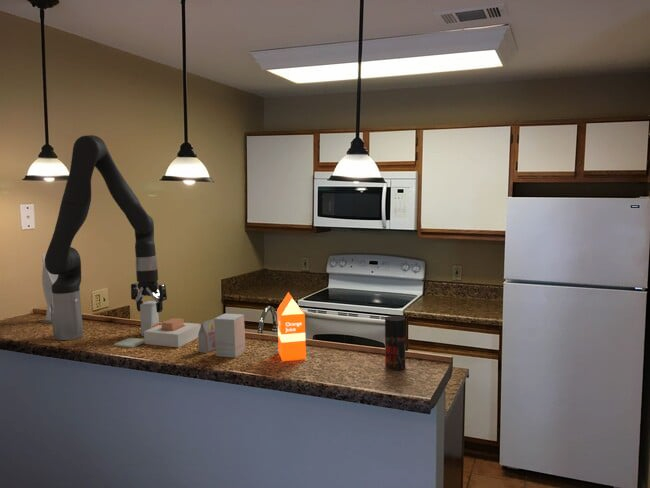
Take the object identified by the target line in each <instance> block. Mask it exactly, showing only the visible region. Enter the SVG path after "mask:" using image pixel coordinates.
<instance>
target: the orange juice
mask: <svg viewBox="0 0 650 488" xmlns="http://www.w3.org/2000/svg"><path fill="white" fill-rule="evenodd" d="M276 311H277V339H278V343H277V345H278V355H279V357H280V359H281V361H282V362H286V361H287V362H289V361H298V360H299V361H301V360H307V356H306V355H307V354H306V353H307V348H306V347H307V346H306V345H307V344H306V343H307V342H306V314H305V312H304V311H303V309H302V308H301V307H299V305H298V303H297V302H296V301H295V300H294V299H293V296H292V295H291V294H290V292H289V291H288V292H287V294H286V295H285V296H284V298H283V300H282V301H281V303H280V304H279V306H278V308H277V309H276Z"/></svg>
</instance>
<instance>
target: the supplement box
mask: <svg viewBox="0 0 650 488" xmlns="http://www.w3.org/2000/svg"><path fill="white" fill-rule="evenodd" d="M213 319H214V325H215V345H216V350H215V356H216V357H223V358H230V359H231V358H233V359H234V358H235V359H236V358H238V357H239V356H241V355H243V354H244V353H246V351H247V350H246V335H245V333H246V332H245V315H244V314H240V313H227V312H226V313H222V314H221V315H218V316H217V317H215V318H213Z"/></svg>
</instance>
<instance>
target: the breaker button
mask: <svg viewBox="0 0 650 488" xmlns="http://www.w3.org/2000/svg"><path fill="white" fill-rule="evenodd" d="M184 323H185V322H184V318H178V317H175V318H174V317H171V318H169V319H168V320H165V321H163V322H161V324H160V325H162V330H165V331H175V330H177V329H179V328H182V327H184Z"/></svg>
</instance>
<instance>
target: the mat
mask: <svg viewBox="0 0 650 488" xmlns="http://www.w3.org/2000/svg"><path fill="white" fill-rule="evenodd" d="M142 344H145V340H144V338H136V337H128V338H126V339H123V340H121V341H117V342H116V343H113V346H114V347H122V348H136V347H137V346H140V345H142Z"/></svg>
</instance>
